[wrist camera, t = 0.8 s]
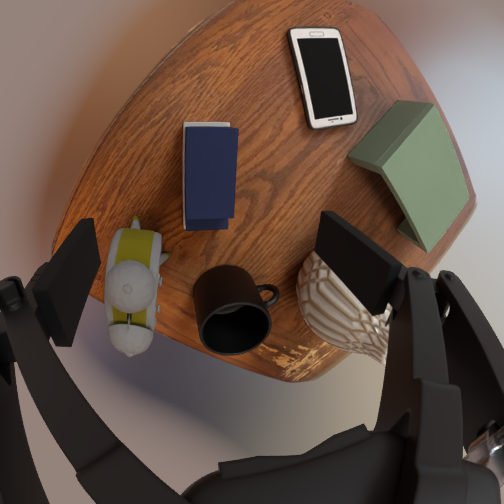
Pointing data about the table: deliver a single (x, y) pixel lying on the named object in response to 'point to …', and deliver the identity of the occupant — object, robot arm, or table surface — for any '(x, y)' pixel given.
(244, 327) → the mug
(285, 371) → the table surface
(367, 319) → the vase
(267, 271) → the table surface
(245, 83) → the table surface
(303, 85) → the cell phone
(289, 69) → the table surface
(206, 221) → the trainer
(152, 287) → the alarm clock
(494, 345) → the robot arm
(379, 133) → the sage green footstool
